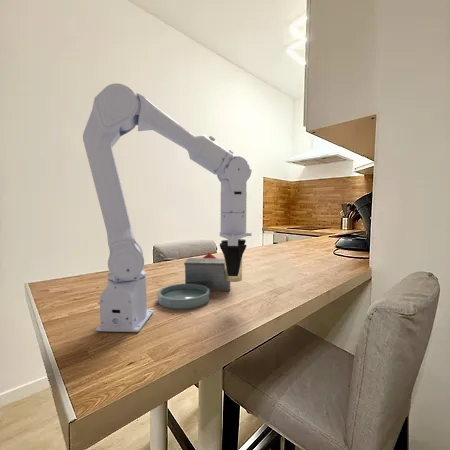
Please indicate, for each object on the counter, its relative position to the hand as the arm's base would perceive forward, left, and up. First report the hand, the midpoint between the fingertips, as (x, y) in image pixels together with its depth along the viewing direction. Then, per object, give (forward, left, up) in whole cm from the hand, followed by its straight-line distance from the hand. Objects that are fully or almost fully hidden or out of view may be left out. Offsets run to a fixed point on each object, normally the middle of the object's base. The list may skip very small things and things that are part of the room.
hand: (233, 273), depth 62 cm
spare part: (0, 0, -1) cm, 1 cm away
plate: (+4, +12, -8) cm, 15 cm away
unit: (+14, +7, -8) cm, 17 cm away
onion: (+26, +8, -8) cm, 28 cm away
